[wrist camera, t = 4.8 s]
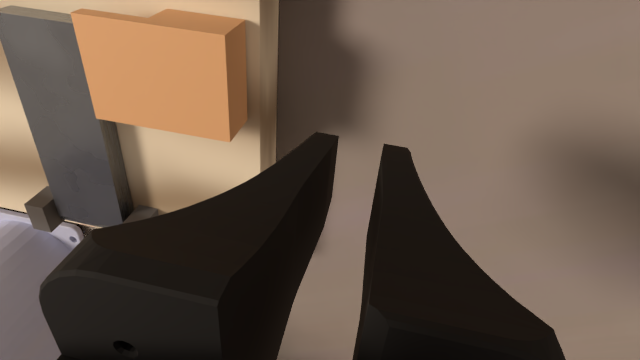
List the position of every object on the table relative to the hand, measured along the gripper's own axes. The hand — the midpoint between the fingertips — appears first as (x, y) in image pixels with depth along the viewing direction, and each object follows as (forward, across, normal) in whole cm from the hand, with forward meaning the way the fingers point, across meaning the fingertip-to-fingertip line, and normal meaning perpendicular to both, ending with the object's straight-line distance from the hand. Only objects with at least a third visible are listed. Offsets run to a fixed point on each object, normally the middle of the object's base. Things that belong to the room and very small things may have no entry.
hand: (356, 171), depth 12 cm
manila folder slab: (+5, +8, 0) cm, 9 cm away
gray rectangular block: (+5, +13, +4) cm, 15 cm away
